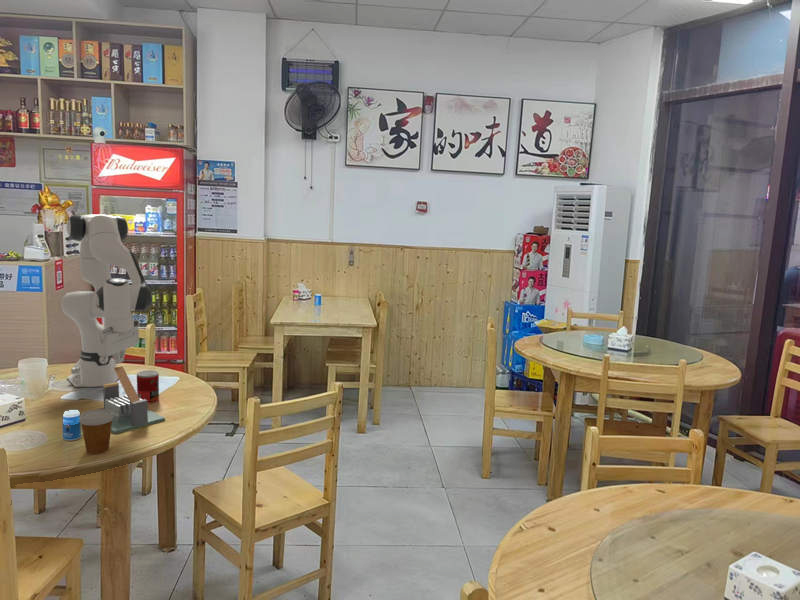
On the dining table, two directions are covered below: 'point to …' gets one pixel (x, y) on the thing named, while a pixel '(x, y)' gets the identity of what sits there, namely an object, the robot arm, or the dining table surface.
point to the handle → (126, 384)
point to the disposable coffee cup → (96, 430)
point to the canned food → (148, 386)
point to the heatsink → (119, 408)
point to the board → (128, 423)
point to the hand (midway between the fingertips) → (119, 362)
